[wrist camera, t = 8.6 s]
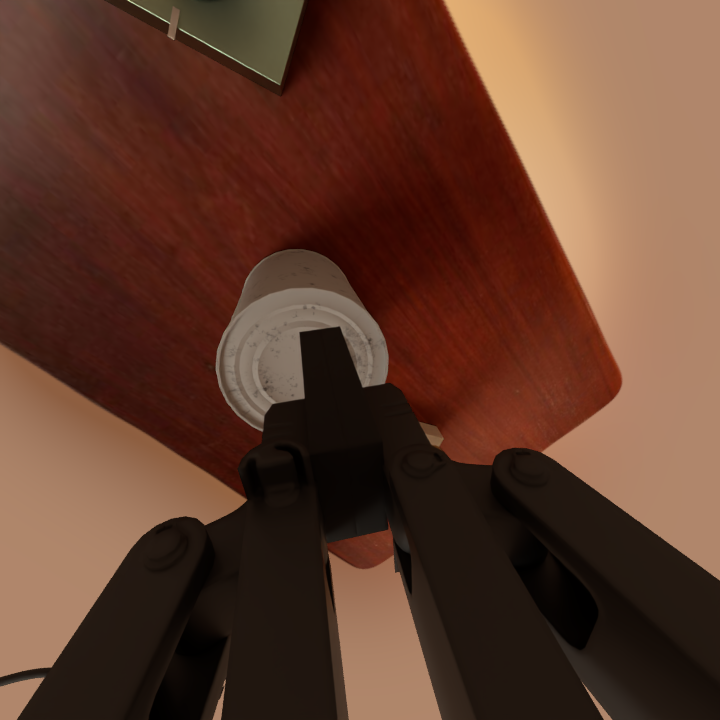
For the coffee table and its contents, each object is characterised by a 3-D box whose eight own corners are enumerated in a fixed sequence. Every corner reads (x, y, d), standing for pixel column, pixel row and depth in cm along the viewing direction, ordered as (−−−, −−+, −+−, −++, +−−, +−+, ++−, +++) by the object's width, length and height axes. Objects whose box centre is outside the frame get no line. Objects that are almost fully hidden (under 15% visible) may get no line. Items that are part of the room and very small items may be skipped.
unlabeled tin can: (333, 365, 34) (356, 450, 23) (230, 340, 31) (200, 425, 20) (368, 269, 30) (414, 316, 19) (256, 231, 27) (236, 261, 16)
